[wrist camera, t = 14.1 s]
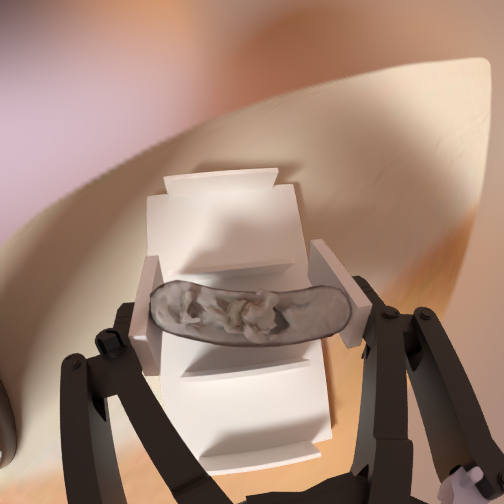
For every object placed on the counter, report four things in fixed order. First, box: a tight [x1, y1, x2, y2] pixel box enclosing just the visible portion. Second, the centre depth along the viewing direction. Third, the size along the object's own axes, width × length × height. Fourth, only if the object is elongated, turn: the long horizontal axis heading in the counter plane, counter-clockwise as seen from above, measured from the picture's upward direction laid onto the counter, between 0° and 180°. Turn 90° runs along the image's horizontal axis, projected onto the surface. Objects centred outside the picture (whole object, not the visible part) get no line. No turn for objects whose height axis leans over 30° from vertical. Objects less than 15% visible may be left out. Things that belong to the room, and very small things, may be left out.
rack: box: [147, 168, 332, 476], centre depth 22 cm, size 13×23×4 cm, turn 7°
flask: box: [149, 280, 351, 348], centre depth 16 cm, size 9×3×11 cm, turn 89°
